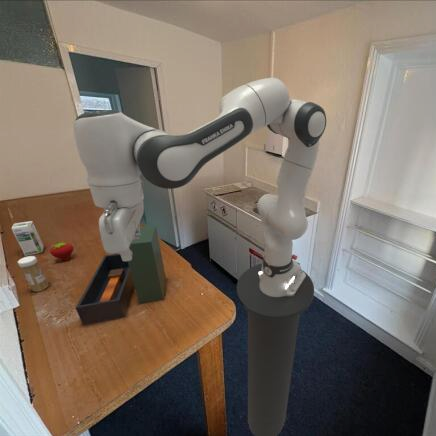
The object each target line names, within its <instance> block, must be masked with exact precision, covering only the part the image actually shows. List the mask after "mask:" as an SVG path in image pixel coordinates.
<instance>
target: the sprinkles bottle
mask: <svg viewBox="0 0 436 436" xmlns="http://www.w3.org/2000/svg"><path fill="white" fill-rule="evenodd" d="M17 265H18V266H19V267H20V269H21V271H22V272H23V275H24V277H25V279H26V280H27V282H28V285H30V288H31V290H32V292H36V293H37V292H41V291H43V290H46V289H47V288H49V285H50V284H49V283H48V281H47V279H46V276H45V274H44V272H43V270H42V268H41V266H40V264H39V262H38V259H37V257H36V256H35V255H28V256H24V257H21V258H20V259H18V260H17Z"/></svg>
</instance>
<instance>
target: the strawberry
mask: <svg viewBox="0 0 436 436" xmlns="http://www.w3.org/2000/svg"><path fill="white" fill-rule="evenodd" d="M56 243H57V244H54V245H51V246H50V247H51V248H50V250H49V254H51V256H52V257H55V258H57V259H60V260H63V261H67V260H68V259H69V257H70V256H71V255H72V253H73V252H74V246H73V244H70V243H66V242H58V241H57V242H56Z"/></svg>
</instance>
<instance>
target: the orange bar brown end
mask: <svg viewBox="0 0 436 436" xmlns="http://www.w3.org/2000/svg"><path fill="white" fill-rule="evenodd" d="M108 279H109V283H108V285H107V287H106V289H105V291H104V293H103V295H102V297H101V299H100V301H99V302H103V301H109V300H114V299H115V297H116V294H117V292H118V289H119V287H120V284H121V283H123V282H124V279H125V272H124V269H117V270H111V271H110V273H109V275H108Z"/></svg>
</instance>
